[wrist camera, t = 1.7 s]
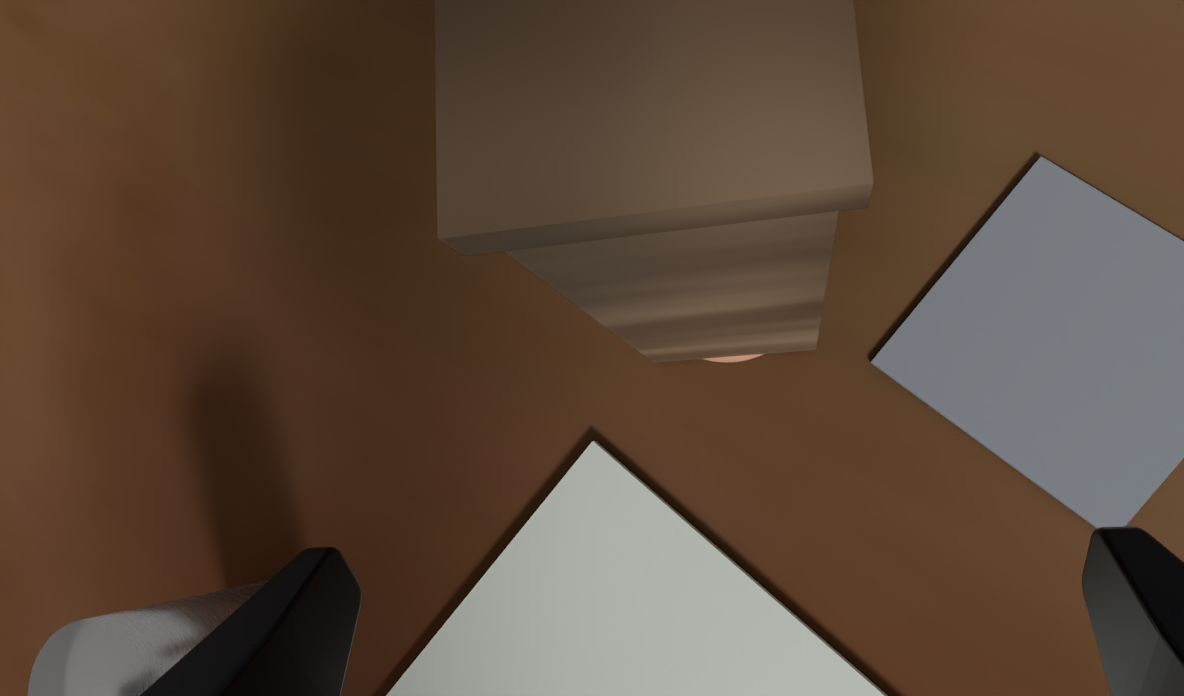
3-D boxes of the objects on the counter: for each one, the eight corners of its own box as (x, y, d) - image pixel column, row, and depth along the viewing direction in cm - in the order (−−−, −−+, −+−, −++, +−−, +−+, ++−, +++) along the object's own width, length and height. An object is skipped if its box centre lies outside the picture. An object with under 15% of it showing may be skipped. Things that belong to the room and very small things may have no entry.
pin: (280, 708, 24) (80, 801, 17) (217, 633, 25) (4, 694, 18) (344, 628, 24) (167, 691, 17) (279, 556, 25) (87, 589, 18)
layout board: (711, 1186, 19) (709, 1203, 19) (292, 693, 24) (282, 697, 23) (1409, 380, 18) (1426, 378, 18) (825, 30, 23) (826, 21, 22)
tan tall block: (826, 358, 21) (873, 183, 8) (645, 371, 22) (437, 238, 9) (809, 183, 22) (828, -227, 9) (635, 205, 23) (432, -128, 10)
